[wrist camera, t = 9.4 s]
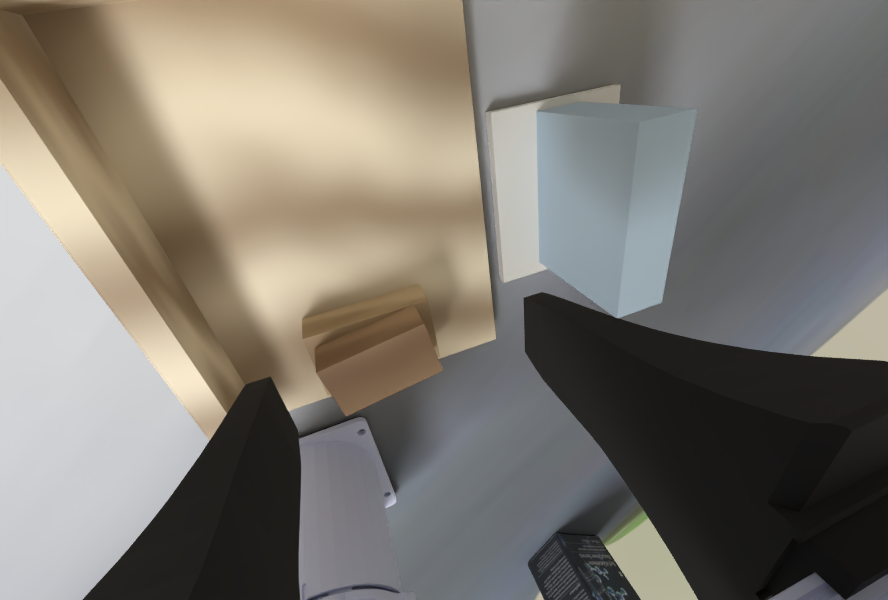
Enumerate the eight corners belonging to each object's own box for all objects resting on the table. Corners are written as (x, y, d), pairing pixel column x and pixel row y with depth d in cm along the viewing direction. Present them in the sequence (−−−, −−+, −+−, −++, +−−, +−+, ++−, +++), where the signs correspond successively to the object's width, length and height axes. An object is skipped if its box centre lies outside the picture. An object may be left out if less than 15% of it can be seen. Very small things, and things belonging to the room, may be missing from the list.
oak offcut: (430, 338, 22) (439, 356, 20) (325, 372, 20) (327, 395, 19) (418, 284, 20) (428, 300, 18) (302, 319, 18) (302, 339, 17)
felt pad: (600, 247, 24) (606, 250, 23) (499, 278, 22) (504, 282, 22) (612, 84, 19) (620, 84, 19) (485, 112, 18) (490, 112, 17)
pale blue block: (574, 251, 23) (661, 302, 17) (539, 261, 22) (616, 318, 17) (580, 101, 18) (697, 108, 13) (536, 111, 18) (639, 122, 12)
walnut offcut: (432, 348, 20) (443, 370, 18) (342, 390, 19) (346, 416, 18) (413, 304, 18) (423, 323, 17) (314, 348, 17) (316, 372, 16)
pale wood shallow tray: (489, 330, 24) (528, 381, 20) (244, 413, 21) (232, 493, 17) (444, -76, 14) (505, -143, 10) (-36, -25, 11) (-232, -90, 7)
